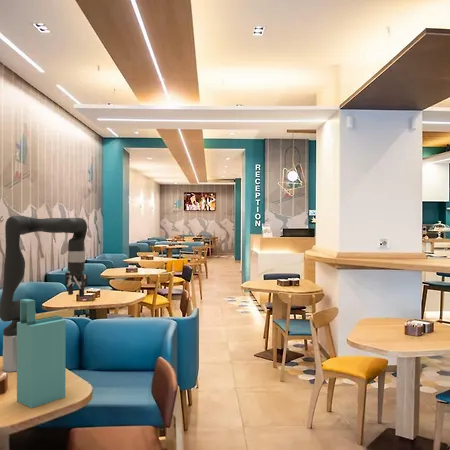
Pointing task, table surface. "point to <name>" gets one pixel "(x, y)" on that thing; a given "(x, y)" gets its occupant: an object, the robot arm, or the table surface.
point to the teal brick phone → (40, 357)
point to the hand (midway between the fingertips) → (76, 295)
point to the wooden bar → (54, 314)
